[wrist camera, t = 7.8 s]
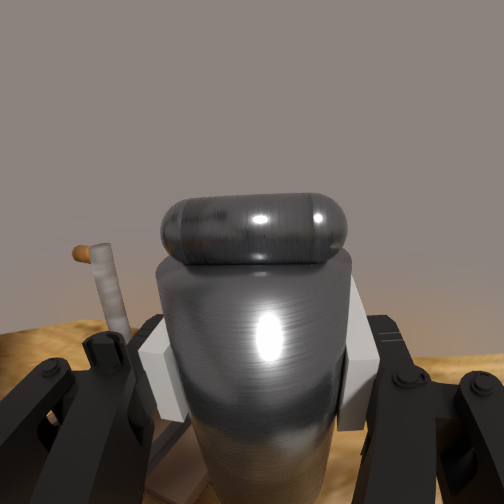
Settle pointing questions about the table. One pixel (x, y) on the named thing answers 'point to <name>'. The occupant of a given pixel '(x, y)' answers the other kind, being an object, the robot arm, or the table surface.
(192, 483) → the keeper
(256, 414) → the grey metal canister
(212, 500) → the table surface
